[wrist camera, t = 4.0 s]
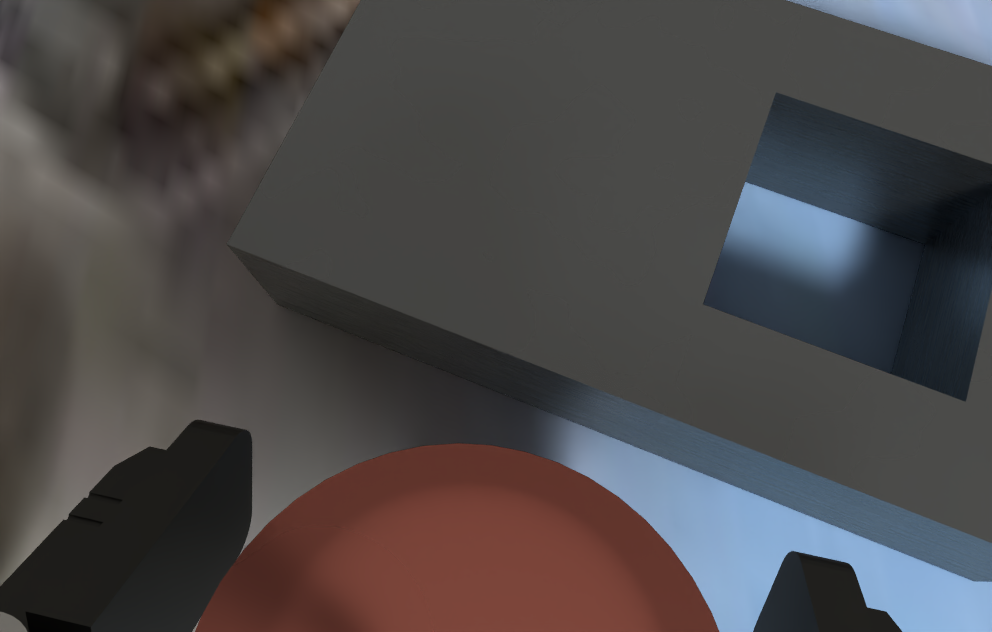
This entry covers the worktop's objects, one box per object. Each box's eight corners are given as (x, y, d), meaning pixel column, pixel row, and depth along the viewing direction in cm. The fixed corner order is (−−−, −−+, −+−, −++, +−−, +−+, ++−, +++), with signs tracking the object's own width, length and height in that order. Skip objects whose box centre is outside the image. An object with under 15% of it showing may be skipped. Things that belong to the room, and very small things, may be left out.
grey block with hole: (277, 303, 18) (226, 243, 15) (436, -6, 21) (424, -116, 17) (973, 581, 16) (1096, 584, 13) (1054, 203, 19) (1173, 124, 16)
